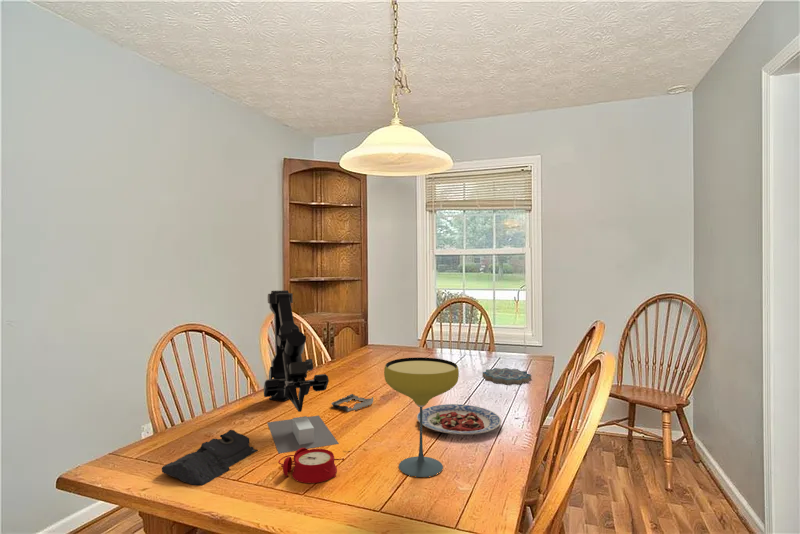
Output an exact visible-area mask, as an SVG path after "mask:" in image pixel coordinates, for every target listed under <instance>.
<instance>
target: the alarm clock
mask: <svg viewBox="0 0 800 534" xmlns="http://www.w3.org/2000/svg"><path fill="white" fill-rule="evenodd" d="M292 457H293V458H292ZM283 459H284V460H283ZM282 460H283V463H281V461H282ZM344 460H345V458H344V457H343V458H335V455H334V453H333V452H332V451H331V450H328V449H325V448H310V449H306V448H300V449H298V450H297V451H294V454H288V455H285V456H283V457H281V458H280V459H279V460H278V464H279V465H280V466H281V467H282V473H283V475H284V477H289V474H288V473H291V476H292V479H294V480H295V481H296V482H299V483H302V484H303V483H305V484H316V483H323V482H325V481H328V480H331V479H333V478H336V477H337V475H336V474H337V472H338V468H337V466H336V463H335V461H344ZM293 466H294V468H292V467H293ZM292 469H293V470H292Z"/></svg>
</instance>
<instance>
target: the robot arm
mask: <svg viewBox="0 0 800 534" xmlns="http://www.w3.org/2000/svg"><path fill="white" fill-rule="evenodd" d="M293 297H294V296H293V293H292V292H289V290H284V289H283V290H270V293H267V303H268V304H269V309H270V311H271V312H272V314H273V315H274V316H273V317H274V319H273V320H274V343H275V344H274V347H275V355H274V356H273V358H272V360H271V364H270V365H271V366H269V371H268V379H266V380H265V381H264V383H263V397H265V398H268V399H269V401H270V400H271V401H281V402H286V401H287V400H289V401H290V402H291V403H292V404H293V406H294V408H296V410H297V412H299V413H300V412H302V411H303V405H304V400H305V396H306V395H308V394H309V393H310V389H311V387H312V390H313V391H315V392H322V391H326V390H327V388H328V384H329V382H330V380H329V376H328V375H327V374H326V373H321V374H315V375H313V378H312V379H307V380H306V378H307V377H308V371H311V372H312V370H314V363H313V359H312V358H309V359H306V360H305V361H303V357H302V355H303V353H304V350H305V345H306V342H307V336H306V335H305V334H304V333H303V332H302V331H301V330H300V327H299V326H298V325H297V324H296V323H295V321H294V314H293V309H292V304H293V303H294V302H293V300H294V299H293ZM297 389H298V392H297Z"/></svg>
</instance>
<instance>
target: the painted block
mask: <svg viewBox="0 0 800 534" xmlns="http://www.w3.org/2000/svg"><path fill="white" fill-rule="evenodd" d="M307 417H308V416H307V415H305V416H296V417H293V418H292V419H293V433H294V435H295V437H296V439H297V441H298V443H299V445H301V444H307V443H313V442H314V427H313V426H312V424H311V422H310V421H309V419H308V418H307Z"/></svg>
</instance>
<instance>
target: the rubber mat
mask: <svg viewBox="0 0 800 534" xmlns="http://www.w3.org/2000/svg"><path fill="white" fill-rule="evenodd" d="M307 418H308V419H309V421H310V422H311V424H312V426H313V427H314V442H313V443H307V444H301V445H299V443H298V441H297V439H296V437H295V435H294V433H293V418H292V419H283V420H276V421H269V422H266V423H267V426H268V429H269V431H270V432H269V433H270V434H271V437H272V440H273V442H274V445H275V448H276V451H277V453H278V454H286V453H291V452H296V451H297V450H298V449H300V448H306V449H307V450H311V449H317V448H321V447H327V446H335V445H339V444H340V443H339V441H338V440H337V439H336V437H335V436H334V434H333V433H332V431H331V430H330V429H329V428H328V426H327V424H325V422H324V421H323V419H322V418H321V417H320V415H314V416H313V415H312V416H307Z"/></svg>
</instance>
